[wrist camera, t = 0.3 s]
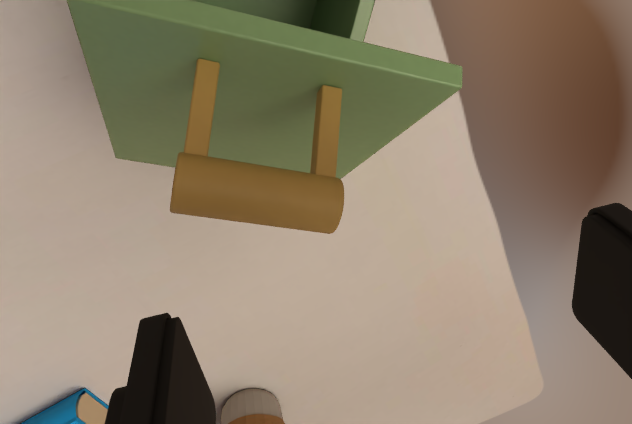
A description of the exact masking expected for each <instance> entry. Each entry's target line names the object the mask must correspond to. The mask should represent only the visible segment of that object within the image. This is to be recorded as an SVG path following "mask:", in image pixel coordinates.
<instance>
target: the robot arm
mask: <svg viewBox="0 0 632 424" xmlns="http://www.w3.org/2000/svg"><path fill="white" fill-rule="evenodd" d="M572 308H573V312H574V315H575V316H576V318H577V320H578V321H579V322H580V323H581V324H582V325H583V326H584V327H585V328H586V330H587V331H588V332H589V333H590V334H591V335H592V336H593V337H594V338H595V339H596V340H597V342H598V343H599V344H600V345H601V346H602V347H603V348H604V349H605V350H606V351H607V352H608V354H609V355H610V356H611V357H612V358H613V359H614V360H615V361H616V362H617V363H618V365H619V366H620V367H621V368H622V369H623V370H624V371H625V372H626V373H627V374H628V375H629V377H630V378H631V379H632V211H631V210H629V209H628V208H627V207H625V206H624V205H622V204H620V203H613V204H609V205H605V206H601V207H597V208H593V209H591V210H590V211H589V212H588V215H587V217H585V218H584V219H583V221H582V226H581V234H580V242H579V251H578V259H577V267H576V275H575V283H574V292H573V299H572ZM105 424H216V409H215V403H214V399H213V396H212V393H211V391H210V389H209V386H208V384H207V381H206V379H205V377H204V374H203V372H202V370H201V367H200V365H199V362H198V360H197V358H196V355H195V353H194V350H193V348H192V346H191V343H190V341H189V339H188V336H187V334H186V331H185V329H184V327H183V324H182V322H181V320H180V318H179V317H176V318H171V316H170V315H169V314H168V313H164V314H160V315H156V316H152V317H148V318H144V319H141V320H140V323H139V328H138V333H137V338H136V343H135V348H134V353H133V358H132V362H131V367H130V372H129V377H128V382H127V386H125V387H121V388H117V389H115V390H114V392H113V393H112V396H111V399H110V402H109V407H108V411H107V415H106V420H105Z"/></svg>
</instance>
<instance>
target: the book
mask: <svg viewBox="0 0 632 424" xmlns="http://www.w3.org/2000/svg"><path fill="white" fill-rule="evenodd" d="M108 407H109V406H108V405H106V404H105V403H104V402H102V401H101V400H100V399H99V398H97V397H96V396H95V395H94V394H92V393H91V392H90V391H88V390H87V389H86V388H84V389H82V390H80V391H78V392H76V393H75V394H73V395H71V396H69V397H67V398H66V399H64V400H62V401H60V402H58V403H57V404H55V405H53V406H51V407H49V408H48V409H46V410H44V411H42V412H40V413H39V414H37V415H35V416H33V417H31V418H30V419H28V420H26V421H24V422H22V423H21V424H105V420H106V415H107V411H108Z"/></svg>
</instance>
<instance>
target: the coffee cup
mask: <svg viewBox="0 0 632 424" xmlns="http://www.w3.org/2000/svg"><path fill="white" fill-rule="evenodd" d="M221 424H285V423H284V421H283V417H282V413H281V408H280V404H279V402H278V400H277V399H276V398H275V397H274V396H273V395H272V394H271V393H270V392H268V391H266V390H262V389H245V390H242V391H239V392H237V393H236V394H234V395H232V396H231V397H230V398H229V399H228V400H227V402H226V404H225V405H224V407H223V409H222V413H221Z"/></svg>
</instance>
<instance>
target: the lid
mask: <svg viewBox="0 0 632 424" xmlns="http://www.w3.org/2000/svg"><path fill="white" fill-rule="evenodd" d="M67 3H68V6H69V9H70V12H71V16H72V19H73V22H74V25H75V28H76V32H77V35H78V38H79V41H80V45H81V48H82V51H83V54H84V57H85V61H86V64H87V67H88V70H89V73H90V77H91V80H92V83H93V86H94V89H95V93H96V96H97V99H98V102H99V105H100V109H101V112H102V115H103V118H104V121H105V125H106V128H107V131H108V134H109V137H110V141H111V144H112V147H113V150H114V153H115V157H116V158H118V159H124V160H131V161H137V162H144V163H150V164H156V165H163V166H169V167H176V168H175V175H174V181H173V188H172V196H171V204H170V212H172V213H178V214H185V215H193V216H200V217H208V218H215V219H223V220H230V221H238V222H245V223H253V224H260V225H268V226H275V227H283V228H290V229H298V230H305V231H313V232H320V233H328V234H330V233H333V232H334V231H335V230H336V229H337V227H338V225H339V222H340V219H341V216H342V211H343V205H344V187H343V183H342V181H341V180H340V179H341V178H343V177H344V176H345V175H346V174H348V173H349V172H350V171H352V170H353V169H354V168H356V167H357V166H358V165H360V164H361V163H362V162H364V161H365V160H366V159H368V158H369V157H370V156H372V155H373V154H374V153H376V152H377V151H378V150H380V149H381V148H382V147H384V146H385V145H386V144H388V143H389V142H390V141H392V140H393V139H394V138H396V137H397V136H398V135H400V134H401V133H402V132H404V131H405V130H406V129H408V128H409V127H410V126H412V125H413V124H414V123H416V122H417V121H418V120H420V119H421V118H422V117H424V116H425V115H426V114H428V113H429V112H430V111H432V110H433V109H434V108H436V107H437V106H438V105H440V104H441V103H442V102H444V101H445V100H446V99H448V98H449V97H450V96H452V95H453V94H454V93H456V92H457V91H458V90H460V89H461V87H462V67H461V66H459V65H455V64H451V63H447V62H443V61H439V60H434V59H430V58H426V57H422V56H418V55H414V54H410V53H406V52H402V51H398V50H393V49H389V48H385V47H381V46H377V45H373V44H369V43H365V42H361V41H357V40H352V39H348V38H344V37H340V36H336V35H332V34H328V33H324V32H320V31H315V30H311V29H307V28H303V27H299V26H295V25H291V24H287V23H283V22H279V21H274V20H270V19H266V18H262V17H258V16H254V15H250V14H246V13H242V12H238V11H233V10H229V9H225V8H221V7H217V6H213V5H209V4H205V3H201V2H196V1H192V0H67Z"/></svg>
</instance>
